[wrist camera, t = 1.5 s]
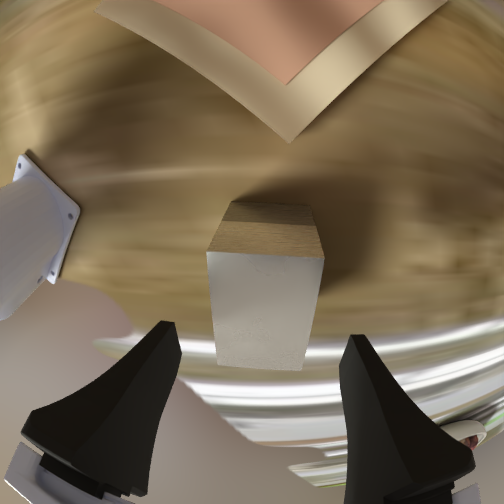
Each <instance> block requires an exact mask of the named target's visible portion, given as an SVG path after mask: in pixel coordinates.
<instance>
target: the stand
mask: <svg viewBox="0 0 504 504" xmlns="http://www.w3.org/2000/svg"><path fill="white" fill-rule="evenodd" d="M447 1H448V0H102V1H101V2H100V4H99V5H98V6H97V8H96V9H95V10H94V12H95V13H97V14H100V15H102V16H104V17H106V18H108V19H110V20H112V21H114V22H116V23H118V24H120V25H122V26H124V27H125V28H127V29H129V30H131V31H133V32H135V33H136V34H138V35H140V36H142V37H144V38H145V39H147V40H149V41H150V42H152V43H154V44H156V45H157V46H159V47H160V48H162V49H164V50H165V51H167V52H169V53H170V54H172V55H173V56H175V57H176V58H178V59H179V60H181V61H183V62H184V63H186V64H187V65H189V66H190V67H192V68H193V69H194V70H196V71H197V72H199V73H200V74H202V75H203V76H205V77H206V78H207V79H209V80H210V81H212V82H213V83H214V84H216V85H217V86H218V87H220V88H221V89H222V90H224V91H225V92H226V93H228V94H229V95H230V96H232V97H233V98H234V99H236V100H237V101H238V102H239V103H241V104H242V105H243V106H244V107H246V108H247V109H248V110H249V111H251V112H252V113H253V114H254V115H256V116H257V117H258V118H259V119H260V120H262V121H263V122H264V123H265V124H266V125H268V126H269V127H270V128H271V129H272V130H273V131H275V132H276V133H277V134H278V135H279V136H280V137H282V138H283V139H284V140H285V141H286V142H287V143H288V144H290V143H291V142H292V141H293V140H294V139H295V138H296V136H297V135H298V134H299V133H300V132H301V131H302V130H303V129H304V128H305V127H306V126H307V125H308V124H309V123H310V122H311V121H312V120H313V119H314V118H315V117H316V116H317V115H318V114H319V113H320V112H321V111H322V110H324V109H325V108H326V107H327V106H328V105H329V104H330V103H331V102H332V101H333V100H334V99H335V98H336V97H337V96H338V95H339V94H340V93H341V92H342V91H343V90H344V89H345V88H346V87H347V86H349V85H350V84H351V83H352V82H353V81H354V80H355V79H356V78H357V77H358V76H359V75H360V74H361V73H363V72H364V71H365V70H366V69H367V68H368V67H369V66H370V65H371V64H372V63H374V62H375V61H376V60H377V59H378V58H379V57H380V56H381V55H382V54H384V53H385V52H386V51H387V50H388V49H389V48H390V47H392V46H393V45H394V44H395V43H396V42H397V41H399V40H400V39H401V38H402V37H403V36H404V35H406V34H407V33H408V32H409V31H410V30H412V29H413V28H414V27H415V26H416V25H418V24H419V23H420V22H421V21H423V20H424V19H425V18H426V17H428V16H429V15H430V14H431V13H433V12H434V11H435V10H436V9H438V8H439V7H440V6H442V5H443V4H444V3H445V2H447Z"/></svg>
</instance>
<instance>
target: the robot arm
mask: <svg viewBox="0 0 504 504" xmlns="http://www.w3.org/2000/svg"><path fill="white" fill-rule="evenodd" d="M71 214H72V215H73V217H72V215H71ZM79 214H80V208H79V206H78V205H77V204H76V203H75V202H74V201H73V200H72V199H70V198H69V197H68V196H67V195H66V194H65V193H64V192H63V191H62V190H61V189H60V188H59V187H58V186H57V185H56V184H54V183H53V182H52V181H51V180H50V179H49V178H48V177H47V176H46V175H45V174H44V173H43V172H42V171H41V170H40V169H39V168H38V167H37V166H36V165H35V164H34V163H33V162H32V161H31V160H30V159H29V158H28V157H27V156H26V155H25V154H21V155H20V156H19V158H18V161H17V165H16V169H15V174H14V178H13V182H12V183H10V184H8V185H6V186H4V187H2V188H0V320H4V319H6V318H8V317H10V316H11V315H12V314H13V313H14V312H15V311H16V310H17V308H18V307H19V306H20V305H21V304H22V303H23V302H24V301H25V300H26V299H27V298H28V297H29V296H30V295H31V293H32V292H33V291H34V290H35V289H36V288H37V287H38V286H39V285H40V284H41V283H42V282H43V281H44V280H45V279H47V280H48V281H50V282H51V283H52V284H55V283H56V282H57V279H58V275H59V272H60V268H61V265H62V262H63V259H64V256H65V252H66V249H67V246H68V244H69V241H70V238H71V235H72V232H73V230H74V227H75V224H76V222H77V219H78V217H79ZM181 356H182V352H181V348H180V344H179V340H178V336H177V332H176V328H175V323H174V322H169V321H162V320H161V321H160V322H159V323H158V324H157V325H156V326H155V327H154V328H153V329H152V330H151V331H150V332H149V333H148V334H147V335H146V336H145V337H144V338H143V339H142V340H141V341H140V342H139V343H138V344H137V345H135V346H134V347H133V348H132V349H131V350H130V351H129V352H128V353H127V354H126V355H125V356H124V357H123V358H122V359H120V360H119V361H118V362H117V363H116V364H115V365H113V366H112V367H111V368H110V369H109V370H107V371H106V372H105V373H104V374H102V375H101V376H100V377H98V378H97V379H95V380H94V381H93V382H91V383H90V384H88V385H86V386H85V387H83V388H81V389H80V390H78V391H76V392H75V393H73V394H71V395H69V396H67V397H65V398H63V399H61V400H59V401H57V402H55V403H52V404H50V405H47V406H44V407H42V408H39V409H36V410H33V411H32V412H31V413H30V415H29V417H28V419H27V421H26V423H25V424H24V427H23V428H22V431H21V434H22V435H23V436H24V437H25V438H26V439H27V440H28V441H30V442H31V443H32V444H34V445H35V446H36V447H37V448H39V449H40V450H42V451H43V452H44V454H43V456H41V455H39V454H38V453H36V452H35V451H34V450H32V449H31V448H29V447H28V446H27V445H25V444H24V443H22V442H20V443H19V445H18V447H17V449H16V451H15V454H14V456H13V458H12V461H11V463H10V465H9V467H8V470H7V472H6V475H5V477H4V480H5V481H6V482H7V483H8V484H9V485H10V486H12V487H13V488H14V489H15V490H16V491H17V492H18V493H19V494H21V495H22V496H23V497H24V498H25V499H26V500H28V501H29V502H30V503H31V504H135V503H132V502H129V501H127V500H124V499H122V498H120V497H121V494H123V495H125V496H128V497H129V496H130V494H133V495H136V496H139V497H142V496H145V495H147V492H148V480H149V471H150V464H151V458H152V453H153V448H154V442H155V438H156V434H157V429H158V425H159V421H160V418H161V415H162V412H163V410H164V407H165V404H166V402H167V399H168V397H169V394H170V391H171V389H172V386H173V384H174V381H175V378H176V376H177V372H178V368H179V364H180V360H181ZM339 376H340V390H341V396H342V402H343V409H344V415H345V422H346V428H347V440H348V459H347V479H346V490H345V498H344V504H481V501H480V493H479V488H478V483H475V484H473V485H471V486H469V487H467V488H465V489H463V490H461V491H458V492H456V493H454V494H451V490H452V489H453V488H454V487H455V486H454V481H456V480H458V479H459V478H461V477H463V476H465V475H466V474H468V473H470V472H471V471H472V470H474V469H475V467H476V465H475V461H474V457H473V453H472V450H471V448H469V447H467V446H466V445H464V444H462V443H461V442H459V441H458V440H456V439H455V438H453V437H452V436H450V435H449V434H448V433H446V432H445V431H444V430H443V429H441V428H440V427H439V426H438V425H437V424H435V423H434V422H433V421H432V420H431V419H430V418H429V417H428V416H427V415H425V414H424V413H423V412H422V411H421V410H420V409H419V407H418V406H417V405H416V404H415V403H414V402H413V401H412V400H411V399H410V398H409V396H408V395H407V394H406V393H405V392H404V390H403V389H402V388H401V386H400V385H399V384H398V383H397V381H396V380H395V379H394V377H393V376H392V374H391V373H390V372H389V370H388V369H387V367H386V366H385V365H384V363H383V362H382V360H381V359H380V357H379V356H378V354H377V353H376V351H375V350H374V348H373V347H372V345H371V343H370V342H369V340H368V339H367V337H366V336H365V335H364V334H361V335H350V337H349V340H348V343H347V346H346V348H345V351H344V354H343V356H342V359H341V362H340V364H339Z"/></svg>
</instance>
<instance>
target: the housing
mask: <svg viewBox="0 0 504 504" xmlns="http://www.w3.org/2000/svg"><path fill="white" fill-rule="evenodd" d="M324 260H325V257H324V254H323V250H322V246H321V243H320V239H319V235H318V232H317V228H316V225H315V222H314V218H313V215H312V211H311V208H310V206H308V205H294V204H277V203H258V202H233V201H231V203H230V205H229V207H228V209H227V211H226V213H225V215H224V217H223V219H222V221H221V223H220V225H219V227H218V229H217V231H216V233H215V235H214V237H213V239H212V241H211V243H210V245H209V247H208V249H207V264H208V276H209V288H210V299H211V309H212V319H213V328H214V337H215V346H216V354H217V362H218V365H225V366H235V367H246V368H258V369H274V370H297V371H301V370H302V366H303V362H304V358H305V353H306V349H307V345H308V341H309V336H310V332H311V327H312V323H313V318H314V313H315V308H316V303H317V298H318V293H319V288H320V282H321V277H322V271H323V265H324Z"/></svg>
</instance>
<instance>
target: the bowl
mask: <svg viewBox="0 0 504 504" xmlns="http://www.w3.org/2000/svg"><path fill="white" fill-rule="evenodd" d="M440 428H441V429H443V430H444V431H445V432H446V433H448V434H449V435H450V436H452V437H453V438H455V439H456V440H458V441H459V442H461V443H462V444H464V445H466V446H467V447H469V448H471V450H473V449H474V448H475V447H476V446H477V445H478V444H479V443H480V442H481V441H482V440H483V439H484V438H485V437H486V434H487V433H486V430H485V427H484V426H483V425H482V424H481V423H480V422H478V421H475V420H463V421H458V422H453V423H450V424H447V425H444V426H441V427H440Z"/></svg>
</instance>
